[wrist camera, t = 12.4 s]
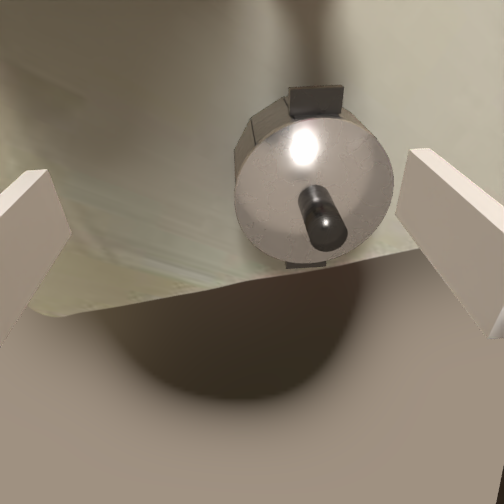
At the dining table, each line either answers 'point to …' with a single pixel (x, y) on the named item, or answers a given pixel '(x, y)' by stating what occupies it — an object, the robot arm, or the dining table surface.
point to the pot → (287, 110)
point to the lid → (313, 189)
